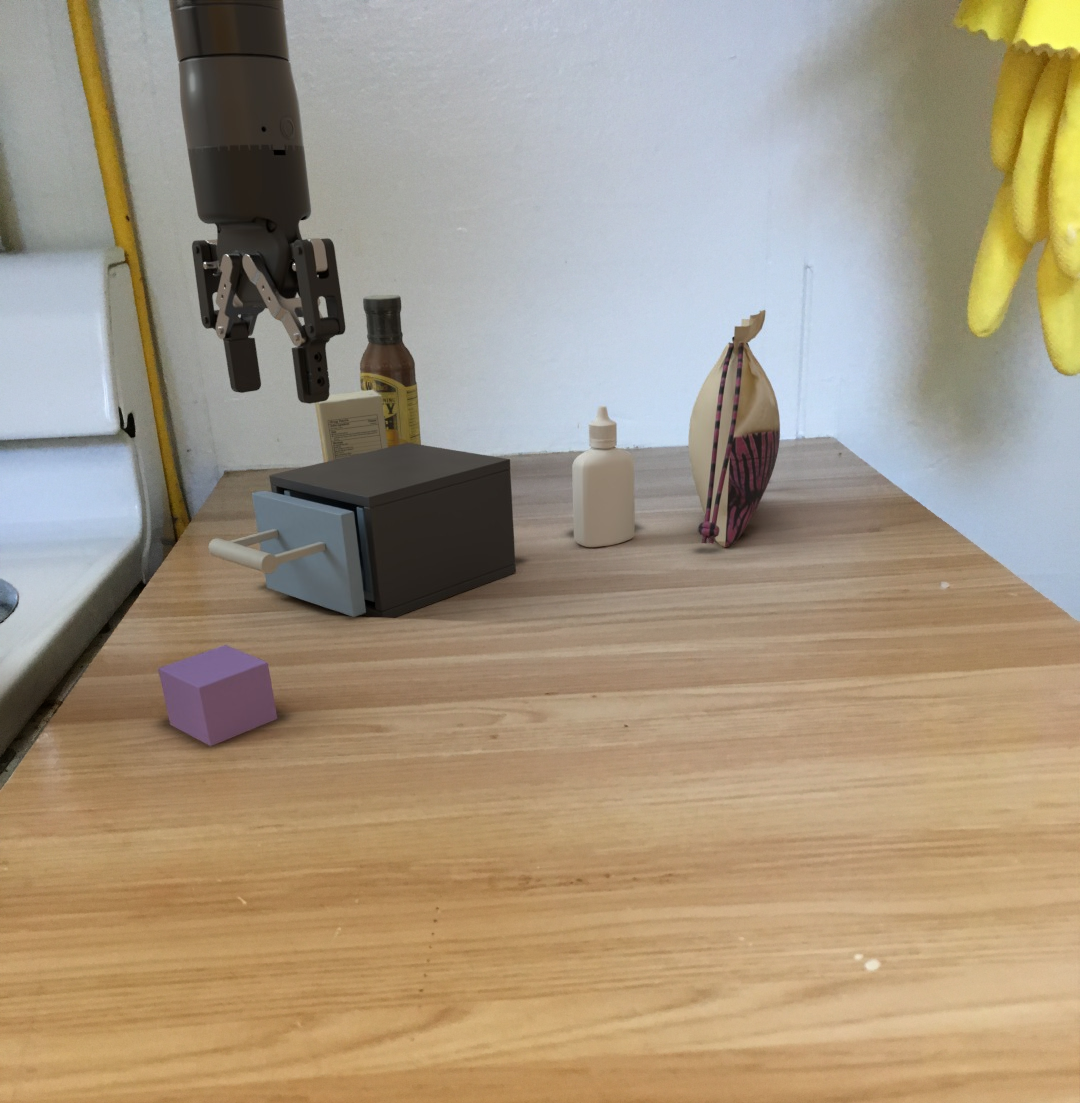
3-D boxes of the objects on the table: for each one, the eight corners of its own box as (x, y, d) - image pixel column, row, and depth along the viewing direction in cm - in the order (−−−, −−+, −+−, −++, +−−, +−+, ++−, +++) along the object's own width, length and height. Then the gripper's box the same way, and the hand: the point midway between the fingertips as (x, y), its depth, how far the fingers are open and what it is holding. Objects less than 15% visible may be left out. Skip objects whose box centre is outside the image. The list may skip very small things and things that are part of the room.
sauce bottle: (358, 482, 122) (337, 297, 114) (397, 471, 127) (379, 292, 118) (397, 489, 119) (378, 298, 110) (436, 477, 123) (421, 293, 114)
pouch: (771, 563, 89) (785, 323, 81) (673, 561, 91) (677, 325, 83) (777, 490, 111) (788, 295, 103) (698, 489, 113) (702, 297, 105)
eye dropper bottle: (573, 535, 99) (569, 403, 94) (633, 532, 99) (632, 400, 94) (574, 549, 95) (570, 412, 90) (636, 546, 95) (636, 409, 90)
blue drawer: (290, 640, 75) (273, 533, 72) (204, 607, 83) (185, 508, 79) (482, 571, 88) (476, 477, 84) (394, 548, 95) (384, 460, 92)
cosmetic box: (389, 509, 111) (377, 388, 106) (398, 519, 107) (385, 394, 102) (328, 516, 109) (312, 394, 104) (334, 527, 105) (318, 400, 100)
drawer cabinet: (383, 622, 81) (368, 497, 76) (286, 590, 88) (268, 475, 84) (516, 572, 90) (510, 459, 86) (418, 547, 98) (408, 442, 94)
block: (213, 759, 61) (198, 687, 59) (172, 737, 64) (157, 667, 62) (280, 731, 64) (268, 661, 62) (238, 711, 67) (225, 644, 65)
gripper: (139, 148, 72) (182, 395, 79) (257, 134, 63) (293, 413, 70) (235, 149, 77) (268, 382, 84) (357, 136, 68) (382, 397, 75)
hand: (279, 396), depth 77 cm, fingers open, 8 cm apart
